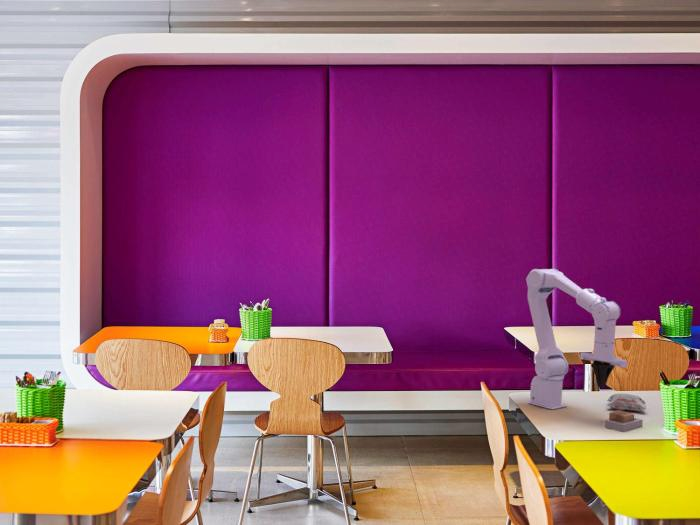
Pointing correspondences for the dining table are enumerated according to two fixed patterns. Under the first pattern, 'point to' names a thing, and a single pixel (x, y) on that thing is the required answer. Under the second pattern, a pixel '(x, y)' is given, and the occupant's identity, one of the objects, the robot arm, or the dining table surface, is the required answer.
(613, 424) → the purple-grey c-shaped block
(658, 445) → the dining table surface
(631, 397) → the packaged food
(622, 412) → the wooden cube block
